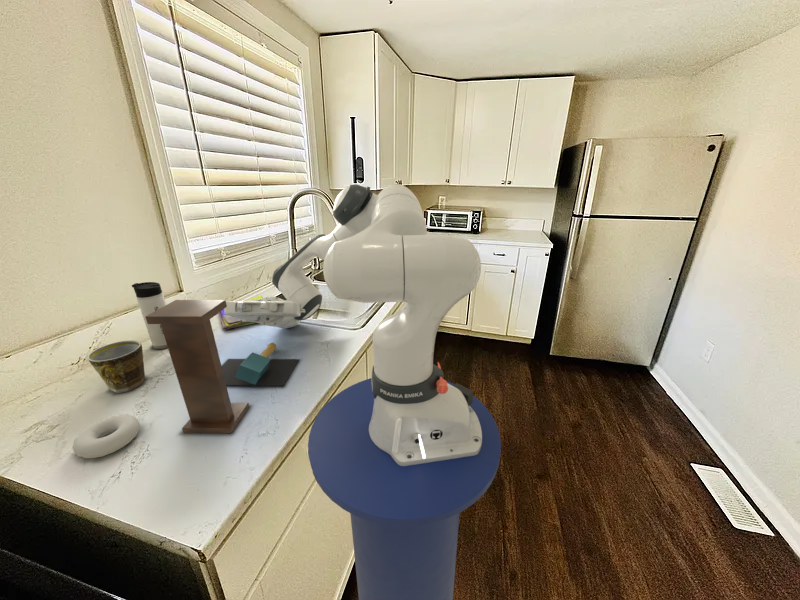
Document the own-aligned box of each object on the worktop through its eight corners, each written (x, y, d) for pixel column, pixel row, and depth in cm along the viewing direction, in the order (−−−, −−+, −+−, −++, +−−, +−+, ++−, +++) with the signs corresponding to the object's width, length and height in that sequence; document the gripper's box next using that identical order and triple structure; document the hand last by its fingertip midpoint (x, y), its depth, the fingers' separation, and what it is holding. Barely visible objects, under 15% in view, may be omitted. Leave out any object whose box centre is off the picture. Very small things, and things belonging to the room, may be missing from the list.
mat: (298, 360, 91) (298, 359, 91) (283, 386, 80) (283, 385, 80) (228, 360, 92) (228, 358, 92) (203, 386, 81) (203, 384, 81)
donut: (136, 450, 62) (146, 417, 70) (130, 436, 61) (141, 404, 69) (67, 471, 58) (86, 433, 66) (59, 457, 57) (80, 420, 65)
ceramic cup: (113, 378, 84) (99, 344, 81) (158, 370, 88) (147, 337, 84) (88, 409, 73) (71, 372, 69) (140, 399, 76) (127, 362, 73)
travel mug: (157, 340, 103) (138, 280, 96) (180, 338, 104) (163, 279, 97) (147, 350, 98) (126, 287, 90) (172, 348, 99) (153, 285, 91)
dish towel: (264, 299, 136) (263, 293, 135) (278, 320, 117) (277, 313, 116) (217, 308, 127) (216, 302, 126) (224, 332, 108) (222, 325, 107)
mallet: (279, 354, 97) (283, 343, 96) (255, 384, 78) (260, 372, 78) (263, 347, 96) (267, 337, 96) (234, 377, 78) (239, 364, 77)
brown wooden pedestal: (249, 406, 73) (225, 299, 64) (231, 433, 66) (201, 316, 56) (206, 406, 74) (175, 299, 64) (183, 432, 66) (145, 316, 57)
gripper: (306, 322, 97) (290, 317, 83) (239, 321, 97) (211, 317, 84) (308, 301, 98) (292, 293, 84) (240, 301, 98) (214, 293, 85)
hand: (251, 305), depth 84 cm, fingers open, 5 cm apart
